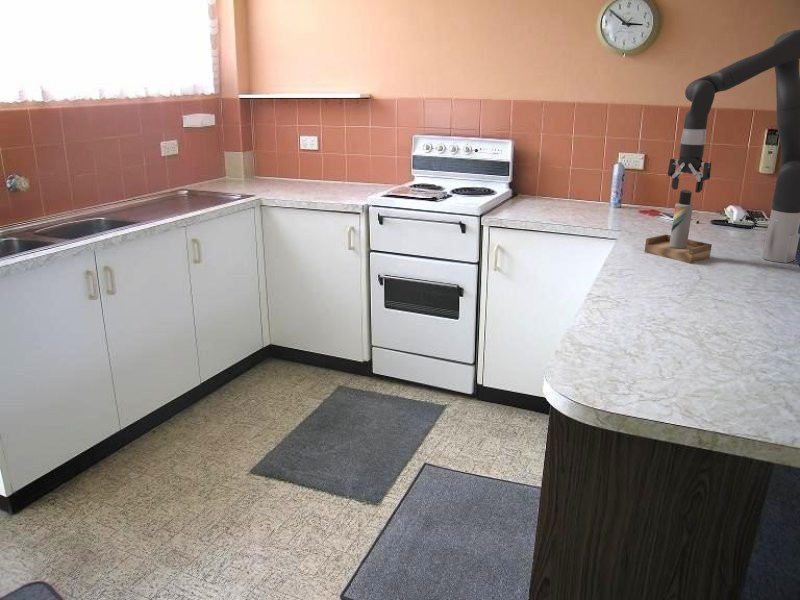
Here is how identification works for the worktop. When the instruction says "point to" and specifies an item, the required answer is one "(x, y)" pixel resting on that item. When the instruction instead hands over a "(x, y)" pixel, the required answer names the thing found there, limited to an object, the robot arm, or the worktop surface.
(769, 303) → the worktop surface
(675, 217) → the lotion bottle
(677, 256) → the wooden serving tray
